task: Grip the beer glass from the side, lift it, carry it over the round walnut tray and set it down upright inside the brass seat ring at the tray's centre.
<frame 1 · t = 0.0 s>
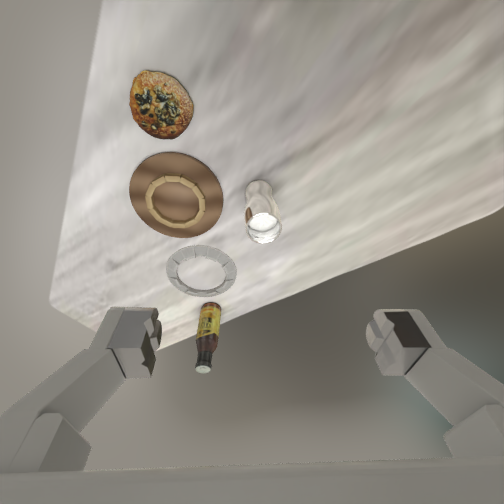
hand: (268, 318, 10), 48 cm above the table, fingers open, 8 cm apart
round tray: (178, 197, 58), on the table
beer glass: (258, 192, 59), on the table
ring: (202, 271, 73), on the table
sauce bottle: (210, 307, 82), on the table
bread roll: (162, 105, 48), on the table
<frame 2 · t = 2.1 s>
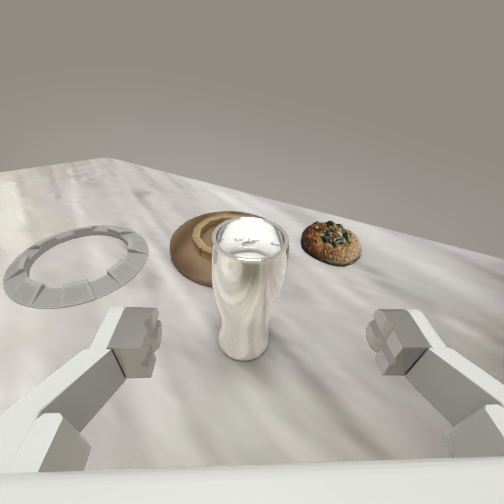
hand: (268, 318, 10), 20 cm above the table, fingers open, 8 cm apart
round tray: (230, 247, 45), on the table
beer glass: (243, 338, 32), on the table
ring: (84, 263, 41), on the table
bread roll: (330, 248, 48), on the table
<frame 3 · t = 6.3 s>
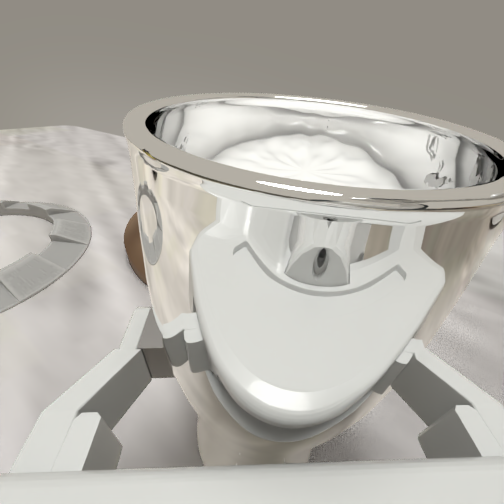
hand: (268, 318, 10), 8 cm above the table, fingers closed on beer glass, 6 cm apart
round tray: (227, 235, 28), on the table
beer glass: (254, 426, 14), on the table, touching gripper
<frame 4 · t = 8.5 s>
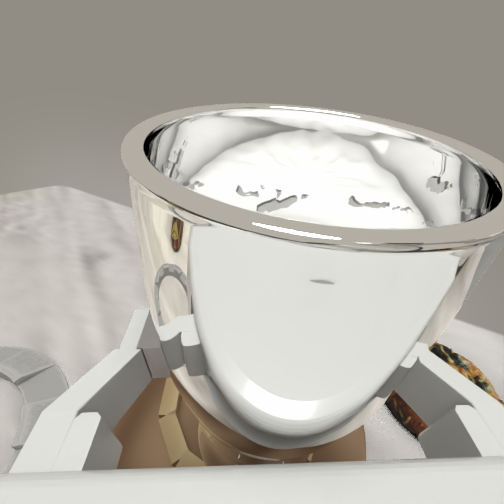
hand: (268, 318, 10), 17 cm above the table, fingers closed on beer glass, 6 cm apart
round tray: (240, 408, 23), on the table
beer glass: (254, 426, 14), point 8 cm above the table, touching gripper
bread roll: (433, 397, 25), on the table
when the fingers open (10 cm above the table, at t = 10.7 s): beer glass stays where it is, resting on round tray.
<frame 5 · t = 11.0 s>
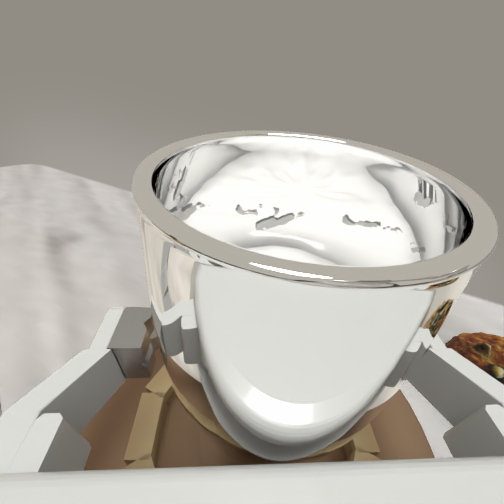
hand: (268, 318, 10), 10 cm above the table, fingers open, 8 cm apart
round tray: (251, 440, 15), on the table
beer glass: (254, 436, 15), point 1 cm above the table, touching round tray
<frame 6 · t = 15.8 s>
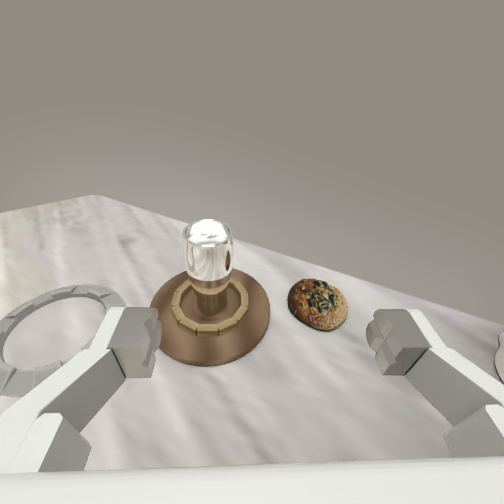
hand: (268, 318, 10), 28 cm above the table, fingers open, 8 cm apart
round tray: (211, 310, 45), on the table
beer glass: (211, 306, 44), point 1 cm above the table, touching round tray
ring: (61, 332, 40), on the table
bread roll: (317, 307, 47), on the table
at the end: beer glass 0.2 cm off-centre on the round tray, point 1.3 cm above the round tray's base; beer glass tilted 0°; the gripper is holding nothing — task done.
